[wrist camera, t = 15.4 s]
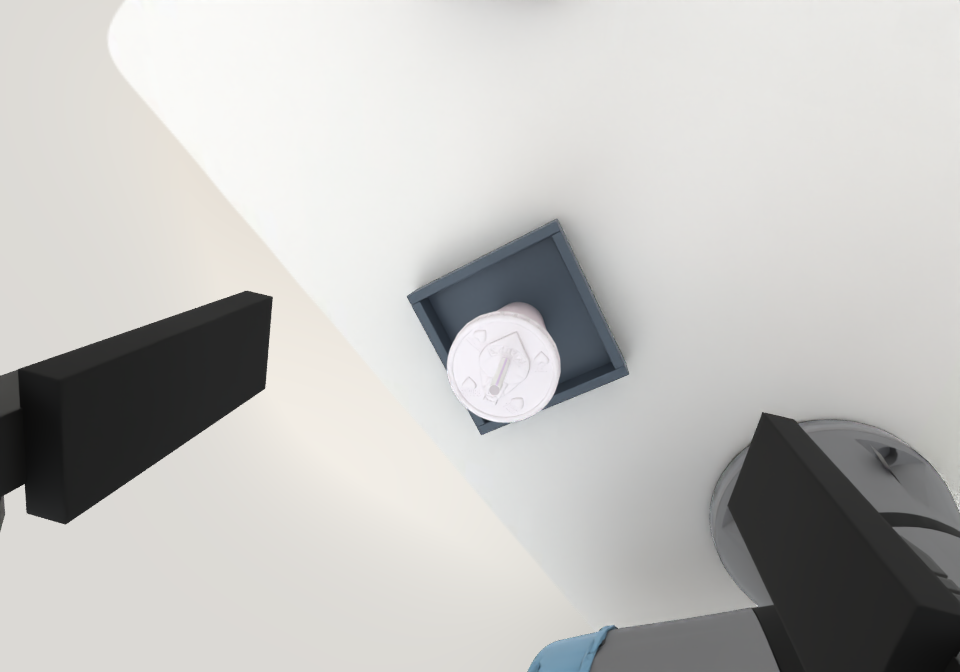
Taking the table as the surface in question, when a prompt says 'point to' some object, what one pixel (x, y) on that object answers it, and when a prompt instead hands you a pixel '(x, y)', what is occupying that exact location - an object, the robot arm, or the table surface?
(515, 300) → the tray
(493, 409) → the smoothie
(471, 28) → the table surface
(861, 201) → the table surface
